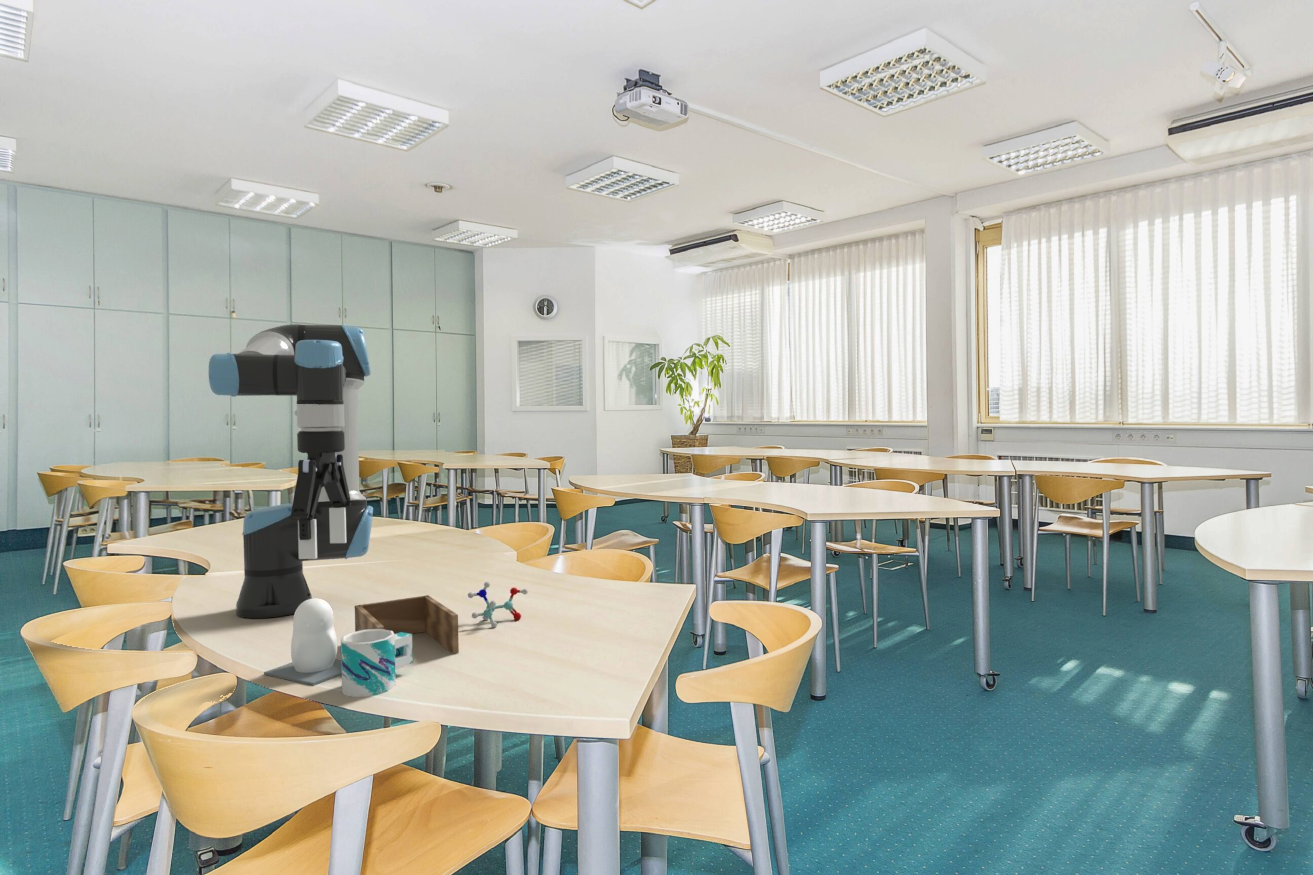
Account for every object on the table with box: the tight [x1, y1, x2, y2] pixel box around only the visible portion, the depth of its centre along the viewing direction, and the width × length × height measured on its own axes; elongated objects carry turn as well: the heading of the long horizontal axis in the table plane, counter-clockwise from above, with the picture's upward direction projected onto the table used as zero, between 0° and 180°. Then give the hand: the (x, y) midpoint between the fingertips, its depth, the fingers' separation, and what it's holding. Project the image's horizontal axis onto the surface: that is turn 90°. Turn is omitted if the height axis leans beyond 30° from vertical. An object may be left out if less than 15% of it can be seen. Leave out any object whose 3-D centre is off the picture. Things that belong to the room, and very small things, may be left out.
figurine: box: [290, 597, 338, 673], centre depth 127 cm, size 7×8×12 cm
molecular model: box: [467, 581, 529, 629], centre depth 156 cm, size 12×10×10 cm
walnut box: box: [354, 594, 460, 655], centre depth 139 cm, size 18×14×7 cm
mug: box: [340, 629, 414, 698], centre depth 121 cm, size 8×12×8 cm
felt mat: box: [263, 658, 342, 686], centre depth 127 cm, size 12×10×1 cm
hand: (323, 550), depth 131 cm, fingers open, 13 cm apart
